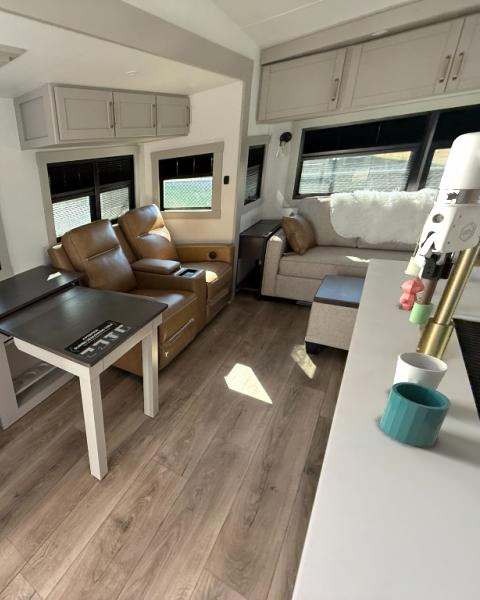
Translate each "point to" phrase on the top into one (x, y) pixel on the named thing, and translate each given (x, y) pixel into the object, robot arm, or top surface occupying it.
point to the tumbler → (414, 414)
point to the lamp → (413, 267)
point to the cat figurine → (410, 293)
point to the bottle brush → (424, 303)
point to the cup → (420, 369)
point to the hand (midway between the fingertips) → (434, 278)
